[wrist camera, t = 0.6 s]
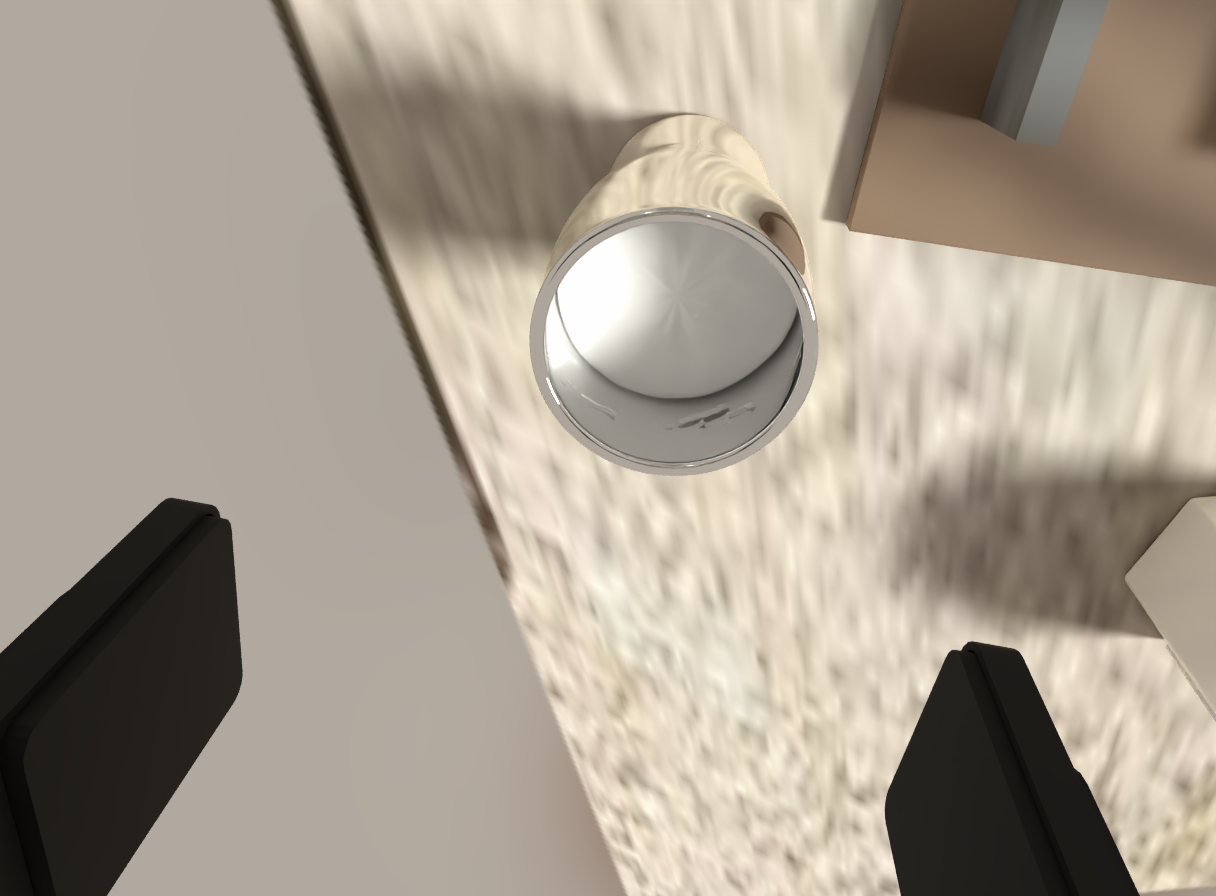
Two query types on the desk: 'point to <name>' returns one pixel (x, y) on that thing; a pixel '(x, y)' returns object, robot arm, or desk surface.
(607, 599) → the desk surface
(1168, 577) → the jar
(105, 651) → the robot arm
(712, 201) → the beer glass
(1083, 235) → the u rest
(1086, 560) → the desk surface
